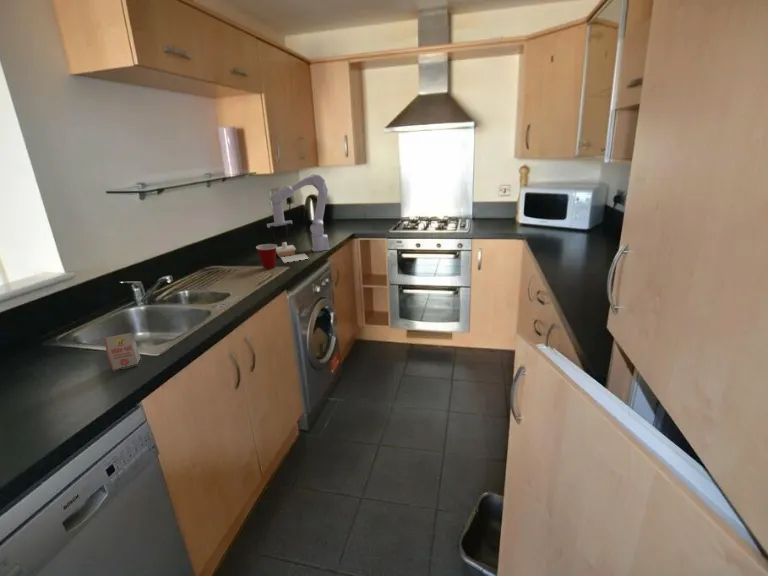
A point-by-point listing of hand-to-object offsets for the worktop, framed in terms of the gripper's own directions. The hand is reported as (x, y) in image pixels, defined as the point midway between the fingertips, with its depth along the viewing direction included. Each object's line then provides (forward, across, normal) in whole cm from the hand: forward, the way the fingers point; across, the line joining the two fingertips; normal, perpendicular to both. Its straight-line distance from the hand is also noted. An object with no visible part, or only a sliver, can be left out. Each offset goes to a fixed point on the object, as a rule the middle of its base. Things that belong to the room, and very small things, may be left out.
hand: (281, 238), depth 233 cm
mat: (+10, -2, +12) cm, 16 cm away
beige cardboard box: (+12, +83, +95) cm, 127 cm away
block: (+10, -2, -1) cm, 11 cm away
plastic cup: (+11, +15, +21) cm, 28 cm away
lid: (+7, -1, -1) cm, 8 cm away
